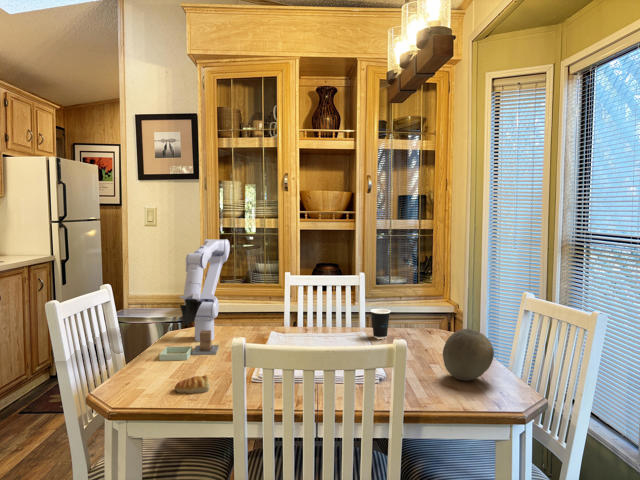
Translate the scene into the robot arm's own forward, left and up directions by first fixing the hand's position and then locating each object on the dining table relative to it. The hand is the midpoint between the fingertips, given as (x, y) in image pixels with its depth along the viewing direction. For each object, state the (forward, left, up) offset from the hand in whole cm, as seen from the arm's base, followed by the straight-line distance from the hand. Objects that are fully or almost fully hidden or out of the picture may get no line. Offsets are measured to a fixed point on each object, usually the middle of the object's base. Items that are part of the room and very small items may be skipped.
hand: (188, 323), depth 161 cm
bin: (+4, -3, -11) cm, 12 cm away
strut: (-1, +6, -10) cm, 12 cm away
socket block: (-1, +6, -11) cm, 13 cm away
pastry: (+32, +8, -12) cm, 35 cm away
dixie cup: (-18, +72, -11) cm, 75 cm away
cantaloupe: (+30, +88, -11) cm, 94 cm away
